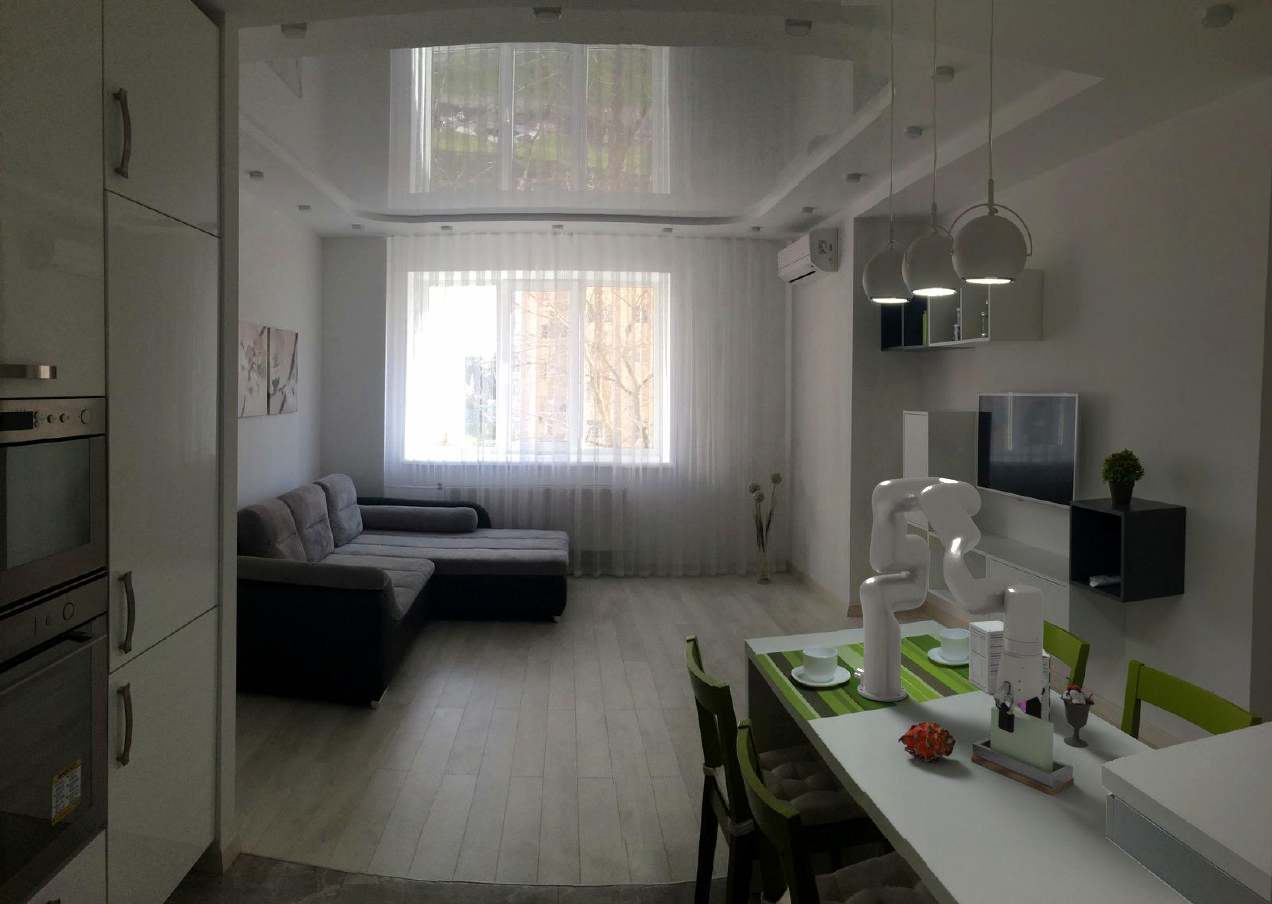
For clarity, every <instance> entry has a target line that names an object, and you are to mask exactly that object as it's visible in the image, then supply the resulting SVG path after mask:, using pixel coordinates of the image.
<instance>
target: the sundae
mask: <svg viewBox="0 0 1272 904" xmlns="http://www.w3.org/2000/svg"><path fill="white" fill-rule="evenodd" d="M1065 678H1066V680H1068V681H1069V685H1068V686H1067V687H1066V690H1065V691H1064V693H1063V694H1062V695H1061V696H1060V699H1061V701H1063V705H1064V714H1065V719H1066V722H1067V723H1068V724H1069V725H1070V726H1071V727H1072V736H1071V737H1070V736H1069V737H1065V738H1064V739H1063V742H1064V743H1065V744H1066V745H1068V746H1070V747H1075V748H1087V747H1088V746H1089V743H1088V741H1086V740H1085V739H1083V738H1081V737H1080V729H1081V728H1084V727H1085V726H1086V725H1087V723H1088V719H1089V712H1090V710H1091V709H1090V708H1091V706H1095V701H1094V699H1092V698H1091V697H1092V696H1093V693H1091V694H1090V695H1089V696H1087V692H1086V691H1085V690H1084V689H1083V688H1081V687H1079V686H1078V685H1076V684H1075V683H1074V682H1073V680H1072V679H1071V678H1070V677H1069V676H1065ZM1071 684H1072V685H1071Z"/></svg>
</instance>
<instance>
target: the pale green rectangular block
mask: <svg viewBox="0 0 1272 904" xmlns="http://www.w3.org/2000/svg"><path fill="white" fill-rule="evenodd" d="M990 709H991V711H990V714H991V715H990V736H991V749H993V750H995V751H998V752H1000V753H1003V754H1005V755H1008V756H1010V757H1013V758H1015V759H1018V760H1020V761H1023V762H1025V763H1028V764H1030V765H1033V766H1035V767H1038V768H1040V769H1043V770H1045V771H1048V772H1050V773H1052V772H1053V759H1054V732H1055V731H1054V725H1055V724H1054V722H1051V721H1050V722H1048V721H1045V720H1042V719H1039V718H1036V717H1034V716H1031V715H1028V714H1025V713H1024V712H1021V711H1019V710H1016V709H1014V711H1013V714H1015V717H1014V732H1013V733H1010V732H1007V731H1005V730H1002V729H1000V728H999V727H998V718H999V711H998V710H997V706H996V705H995V706H992V707H991V708H990Z"/></svg>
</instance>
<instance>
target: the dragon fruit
mask: <svg viewBox="0 0 1272 904" xmlns="http://www.w3.org/2000/svg"><path fill="white" fill-rule="evenodd" d="M897 741H898V743H902V744H903V745H904V746H905V747H904V748H903V749H904V751H905V752H906V753H908V754H909V755H915V756H917V757H919V758H920V757H924V761H925V762H930V761H933V759H934V760H935V761H939V760H941V758H942V756H944V757H950V756H951V754H952V753H953V751H954V748H955V745H956V743H957V741H956V739H955V737H954V736H953V734H952V733H950V731H949V730H948V729H947V728H945V727H941V725H940V724H939V723H937V722H935V721H932V722H928V723H927V721H920V722H918V724H912V725H911V726H910V728H908V730H907V731H905V733H904V734H903V735H902V736H901V737H899V738H898V740H897Z"/></svg>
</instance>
